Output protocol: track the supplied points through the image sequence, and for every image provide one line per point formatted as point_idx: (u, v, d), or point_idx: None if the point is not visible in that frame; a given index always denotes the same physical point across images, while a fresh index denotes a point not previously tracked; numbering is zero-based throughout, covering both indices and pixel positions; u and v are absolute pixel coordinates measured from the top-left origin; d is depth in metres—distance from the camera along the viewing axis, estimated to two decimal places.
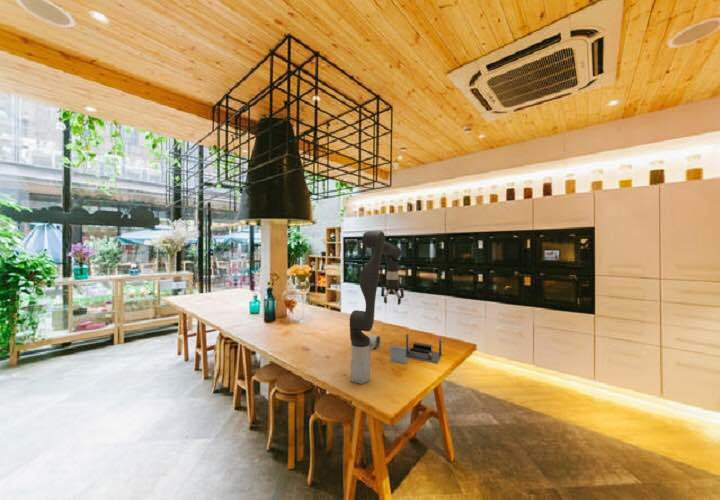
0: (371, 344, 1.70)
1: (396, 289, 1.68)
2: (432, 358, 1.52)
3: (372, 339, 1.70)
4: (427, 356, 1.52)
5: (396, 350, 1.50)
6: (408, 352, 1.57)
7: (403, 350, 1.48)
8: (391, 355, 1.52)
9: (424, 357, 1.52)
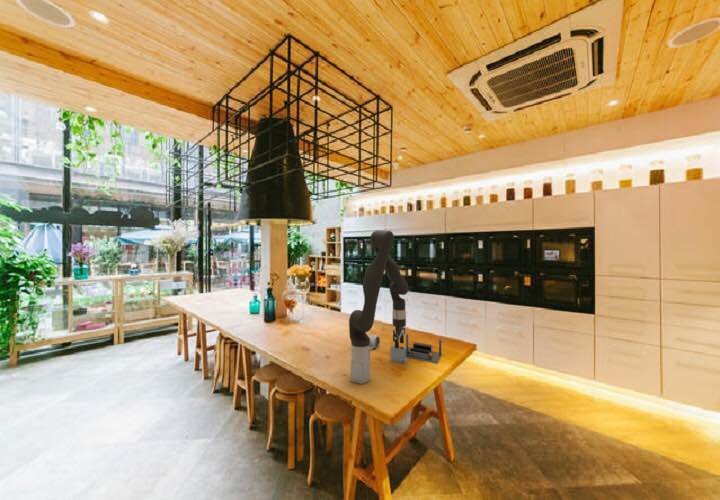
0: (371, 344, 1.69)
1: (402, 327, 1.53)
2: (432, 358, 1.52)
3: (372, 339, 1.69)
4: (427, 356, 1.52)
5: (396, 350, 1.50)
6: (408, 352, 1.57)
7: (403, 350, 1.48)
8: (391, 355, 1.52)
9: (424, 357, 1.52)
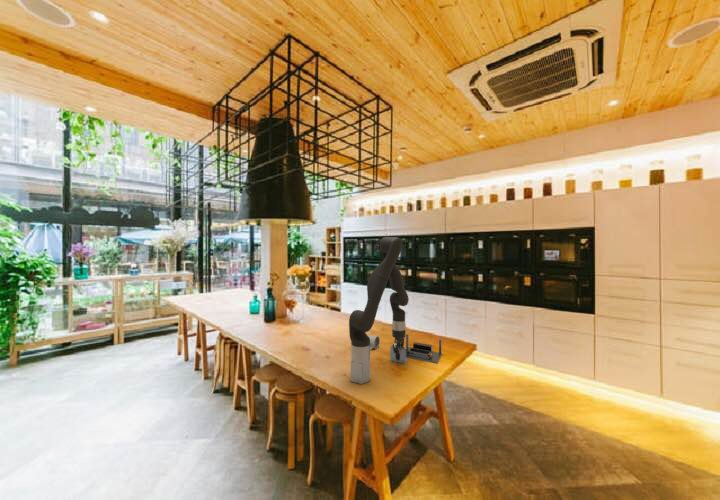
0: (370, 344, 1.69)
1: None
2: (432, 358, 1.52)
3: (371, 339, 1.69)
4: (427, 356, 1.52)
5: None
6: (408, 352, 1.57)
7: (403, 350, 1.48)
8: (391, 355, 1.52)
9: (424, 357, 1.52)
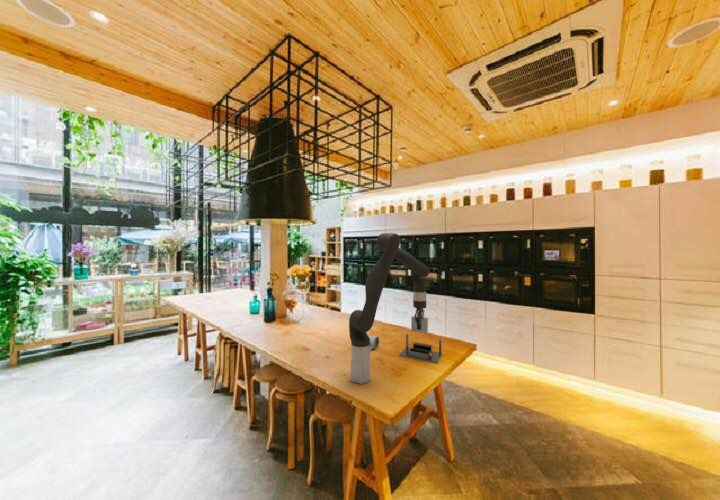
0: (370, 345, 1.68)
1: None
2: (432, 358, 1.52)
3: (371, 340, 1.68)
4: (427, 356, 1.52)
5: None
6: (408, 352, 1.57)
7: (424, 320, 1.54)
8: (412, 325, 1.57)
9: (424, 357, 1.52)
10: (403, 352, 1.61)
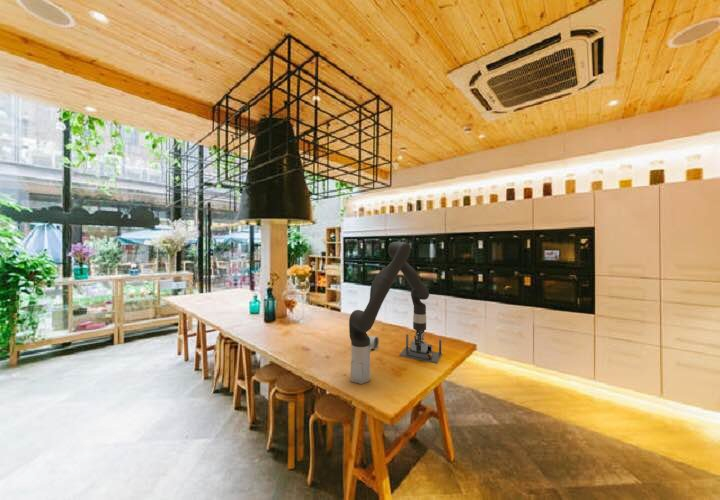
0: None
1: (422, 332, 1.59)
2: (432, 358, 1.52)
3: (370, 340, 1.68)
4: (427, 356, 1.52)
5: None
6: (408, 352, 1.57)
7: (424, 345, 1.54)
8: (412, 350, 1.57)
9: (424, 357, 1.52)
10: (403, 352, 1.61)
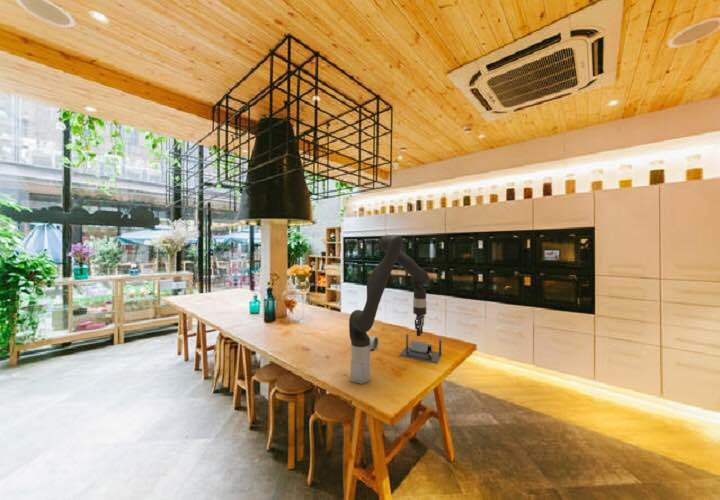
0: None
1: (422, 317, 1.59)
2: (432, 358, 1.52)
3: (370, 340, 1.67)
4: (427, 356, 1.52)
5: (417, 345, 1.56)
6: (408, 352, 1.57)
7: (424, 344, 1.54)
8: (412, 349, 1.57)
9: (424, 357, 1.52)
10: (403, 352, 1.61)
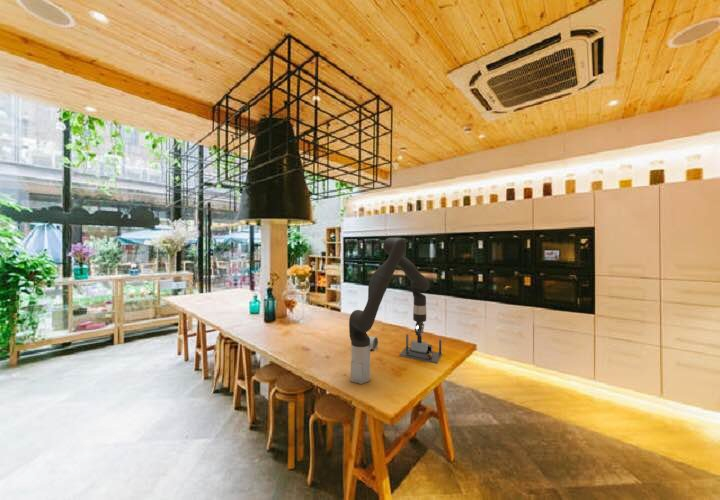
0: None
1: None
2: (432, 358, 1.52)
3: (370, 340, 1.67)
4: (427, 356, 1.52)
5: (417, 345, 1.56)
6: (408, 352, 1.57)
7: (424, 344, 1.54)
8: (412, 349, 1.57)
9: (424, 357, 1.52)
10: (403, 352, 1.61)
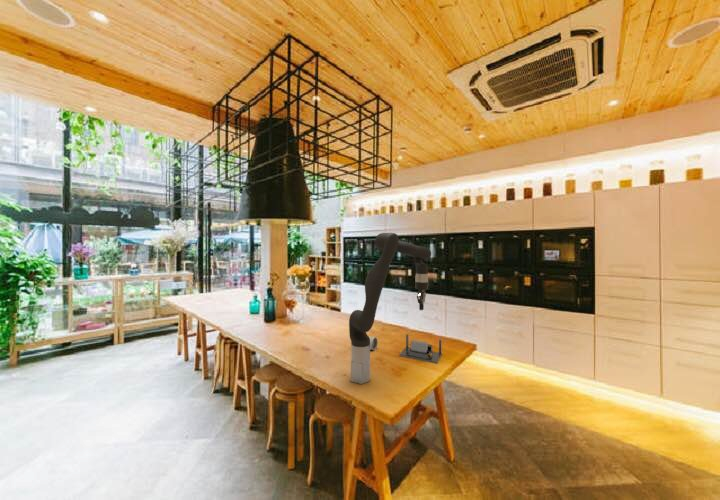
0: None
1: None
2: (432, 358, 1.52)
3: None
4: (427, 356, 1.52)
5: (417, 345, 1.56)
6: (408, 352, 1.57)
7: (424, 344, 1.54)
8: (412, 349, 1.57)
9: (424, 357, 1.52)
10: (403, 352, 1.61)
